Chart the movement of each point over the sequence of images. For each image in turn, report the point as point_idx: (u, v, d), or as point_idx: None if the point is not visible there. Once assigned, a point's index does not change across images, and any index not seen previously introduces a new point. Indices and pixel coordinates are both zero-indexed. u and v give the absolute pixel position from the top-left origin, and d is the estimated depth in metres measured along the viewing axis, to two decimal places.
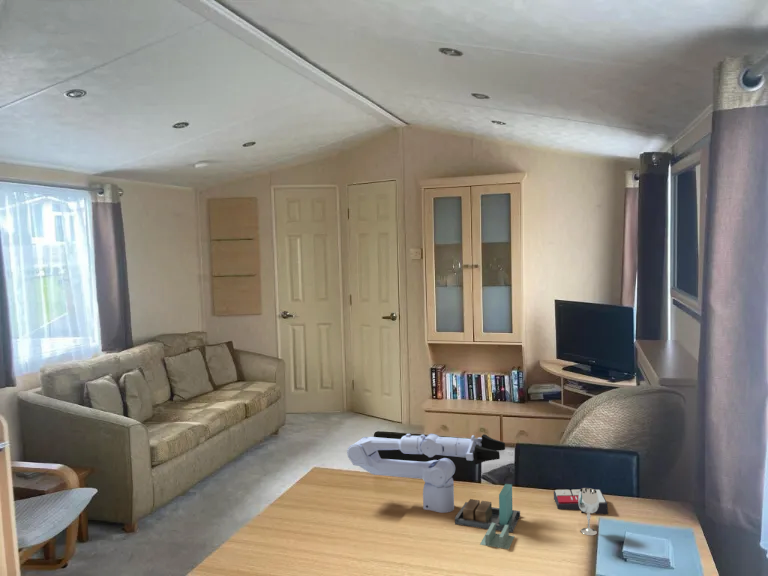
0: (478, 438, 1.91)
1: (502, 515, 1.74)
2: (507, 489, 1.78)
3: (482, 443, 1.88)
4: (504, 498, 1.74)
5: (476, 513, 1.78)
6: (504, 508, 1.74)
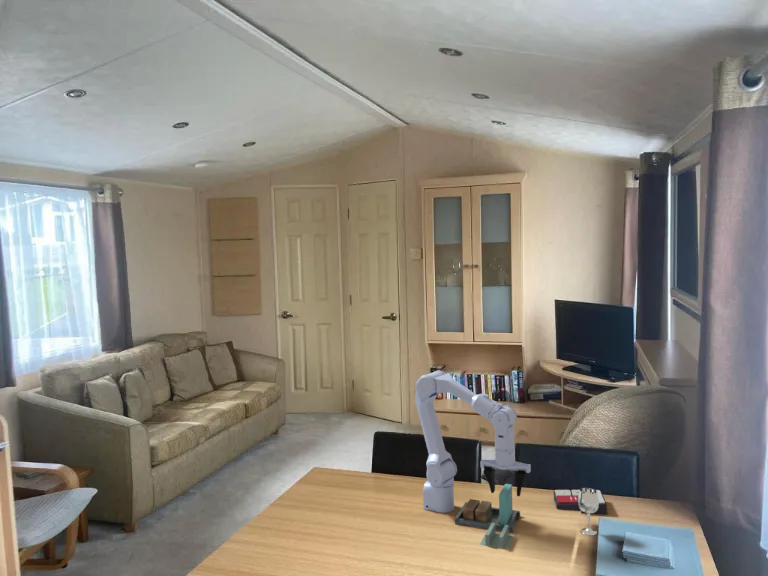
0: (524, 467, 1.74)
1: (502, 515, 1.74)
2: (507, 489, 1.78)
3: (517, 472, 1.76)
4: (504, 498, 1.74)
5: (476, 513, 1.78)
6: (504, 508, 1.74)
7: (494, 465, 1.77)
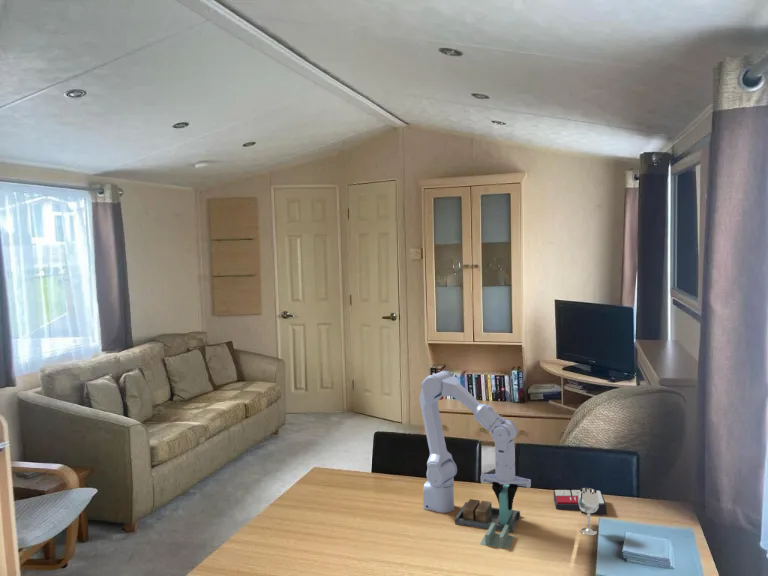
0: (524, 482, 1.75)
1: (502, 515, 1.74)
2: (507, 489, 1.78)
3: (509, 485, 1.77)
4: (504, 498, 1.74)
5: (476, 513, 1.78)
6: (504, 508, 1.74)
7: (494, 480, 1.77)
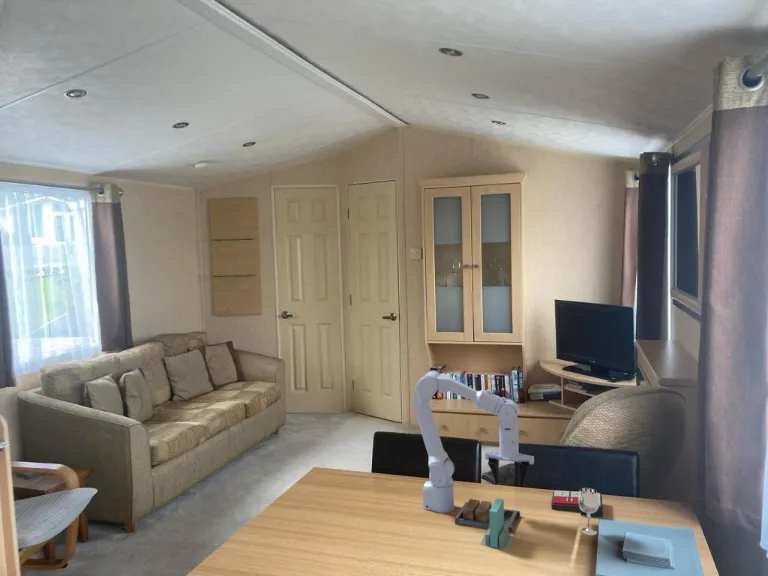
0: (527, 459, 1.80)
1: (493, 533, 1.63)
2: (498, 505, 1.67)
3: (521, 463, 1.81)
4: (495, 515, 1.63)
5: (476, 513, 1.78)
6: (495, 525, 1.63)
7: (498, 457, 1.82)
